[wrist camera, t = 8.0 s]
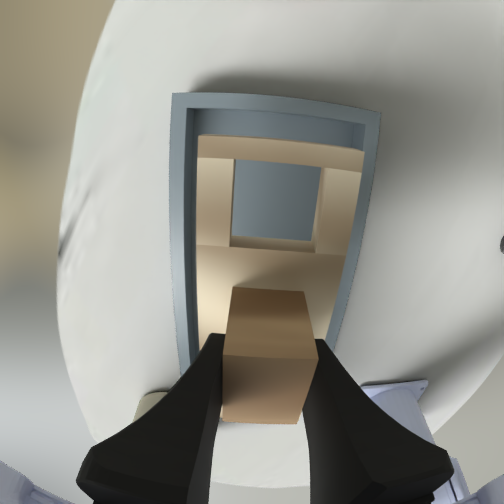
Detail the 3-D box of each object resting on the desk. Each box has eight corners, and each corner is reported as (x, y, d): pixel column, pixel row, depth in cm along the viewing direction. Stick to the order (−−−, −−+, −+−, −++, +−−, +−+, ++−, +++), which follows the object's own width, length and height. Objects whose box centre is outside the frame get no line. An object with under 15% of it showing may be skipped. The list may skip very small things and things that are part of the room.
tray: (315, 369, 23) (319, 391, 21) (187, 361, 23) (181, 383, 21) (364, 114, 15) (380, 112, 13) (184, 97, 15) (172, 92, 13)
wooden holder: (204, 134, 11) (164, 146, 6) (354, 148, 11) (416, 172, 6) (206, 401, 18) (196, 468, 13) (296, 406, 18) (303, 473, 13)
